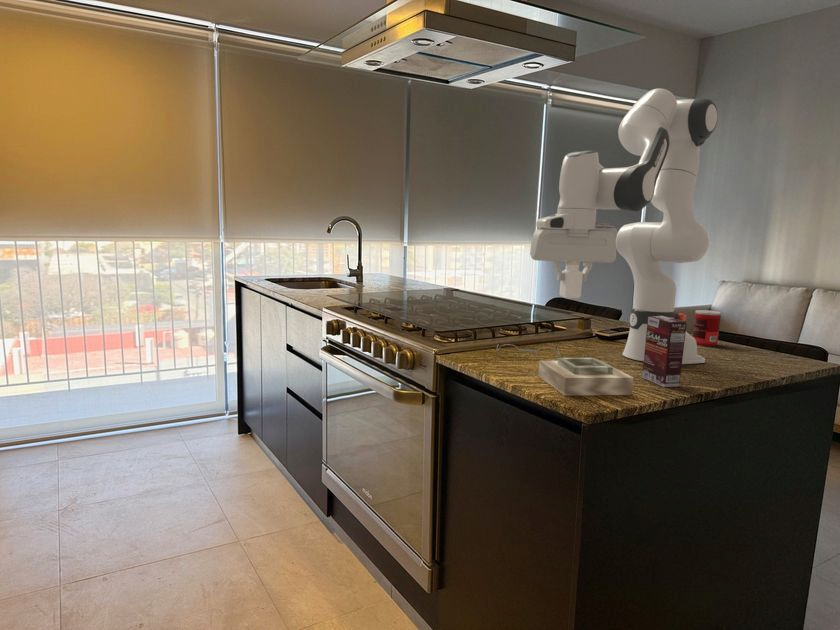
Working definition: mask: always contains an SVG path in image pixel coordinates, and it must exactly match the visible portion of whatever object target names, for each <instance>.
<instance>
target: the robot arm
mask: <svg viewBox="0 0 840 630" xmlns="http://www.w3.org/2000/svg"><path fill="white" fill-rule="evenodd" d="M717 123H718V109H717V105H716V103H714V101H713V100H712V99H710V98H703V97H697V98H695V99H693V98H690V99H689V98H688V99H687V98H686V99H683V98H682V99H676V96H675V95H674V93H673V92H671V91H670V90H668V89H666V88H660V87H659V88H654V89H651V90H649V91H647V92H646V93H645V94H643V95H642V96H641V97H640V98H639V99H638V100H637V101H636V102H635V103H634V104H632V106H631V108H630V109H628V111H627V113H626V114H625V115H624V117H623V119H622V120H621V121H620V124H619V126H618V129H617V130H618V131H617V133H618V134H617V135H618V140H619V142H620V144H621V145H622V147H623V148H624V149H625V150H626V151H627V152H629V153H630V154H632V155H635V156H640V158H639V161H638V163H637V164H634V165H631V166H626V167H610V168H609V167H608V168H607V167H604V166H603V165H602V164H601V163H600V158H599V153H598V152H597V151H595V150H580V151H573V152H569V153H567V154H566V155H565V156H564V158H563V160H562V163H561V164H562V165H561V168H560V174H559V184H558V191H559V202H558V205H557V211H556V213H555V214H551V215H549V216H545V217H541V218H538V219H537V220H536V223H535V224H536V225H535V226H536V228H537V229H536V230H535V231H534V233H533V234H532V237H531V244H530V254H529V255H530V257H531V259H532V260H534V261H542V262H543V261H545V262H552V267H553V269H554V270H555V273H556V277H555V278H556V281H558V282H559V281H565V273H562V271H563V270H562V269H561V267H562V265H563V264H562V263H563V262H566V261H577V262H580V263H582V266H583V267H584V268H583V270H582V271H581V272H582V273H583V276H582V282H587V279H588V277H587V276H588V275H589V272H590V271H591V269H592V268H593V264H594V263H610V264H611V263H613V262H615V260H616V258H617V252H618V254H619V255H620V256H622V258H623V259H624V260H625V261H626V262H627V264H628V266H629V268H630V270H631V274H632V277H633V284H634V287H633V305H632V307H631V309H630V317H629V333H628V337H627V340H626V344H625V347H624V349H623V352H622V356H623V357H625V358H628V359H630V360H631V359H632V360H635V361H640V362H644V353H645V342H646V332H647V322H648V316H665V317H669V318H673V319H677V320H680V321H685V322H686V320H687V318H688V316H687V315H686V314H685V313H683V312H682V313H681V312H679V313H678V312H676V311H675V307H676V306H675V304H676V295H677V285H676V282H675V281H674V280H673V278H671V277H670V276H668V275H666V274H665V273H664V271H663V270H662V267H661V263H662V262H663V263H677V264H684V263H685V264H686V263H693V262H698V261H700V260H701V259H702V258H703V257H704V256H705V255H706V253H707V251H708V249H709V246H710V245H709V244H710V239H709V235H708V232H707V231H706V230H705V228H704V227H703V226H701V225H700V223H699V222H698V221H697V219H696V217H695V215H694V212H693V198H694V192H695V187H696V182H697V178H698V174H699V173H698V172H699V167H700V153H701V152H700V151H701V147H702V145H703V144H704V143H705V142H706V140H707V139H709V137H710V136H712V134H713V132H714V131H715V129H716V127H717ZM700 146H701V147H700ZM649 203H651V205H652V206H653V207H654V208H655V209H657V210H658V211H660V212H662V214H663V219H662V221H661V222H658V221H656V222H654V221H653V222H652V221H638V222H632V223H631V222H630V223H628V224H624V225H622V227H620V228H619V230H618V229H617V227H616V226H615V225H613V223H611V222H607V223H606V222H605V223H603V222H596V220H597V210H621V211H627V212H628V211H629V212H639V211H641V210H643V209H644V208H645V207H646V206H648V205H649ZM705 363H706V358H705V357H703V356H702V355H699V354H698V345H697V343H696V340H695V339H694V338H693V335H691V334H690V333H689V332H687V331H686V333H685V342H684V350H683V359H682V365H690V364H691V365H693V364H705Z"/></svg>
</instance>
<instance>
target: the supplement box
mask: <svg viewBox="0 0 840 630" xmlns="http://www.w3.org/2000/svg"><path fill="white" fill-rule="evenodd" d="M686 332H687V321H686V320H685V321H682V320H677V319H673V318H669V317H665V316H648V322H647V332H646V342H645V353H644V361H643V365H642V373H641V375H642V376H641V378H642V379H643V380H646V381H649V382H651V383H653V384H656V385H658V386H661V388H675V387H681V386H680V384H681V376H682V375H681V374H682V366H683V364H682V359H683V350H684V342H685V333H686Z"/></svg>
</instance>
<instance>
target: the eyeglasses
mask: <svg viewBox="0 0 840 630" xmlns="http://www.w3.org/2000/svg"><path fill="white" fill-rule="evenodd" d="M504 346H510V344H509V343H508V344H507V343H506V344H502V345H500V346H499V345H497V347H496V349H495V352H497V353H498V356H500V355H501V354H500V349H501V347H504ZM511 346H512V347H515V348H516V349H517V351H518V352H517V355H516V356H515V358H516V357H518V356H519V354H520V352H528V353H536V357H537V358H538V359H539V360H541V358H540V357H539V355H538V352H539V350H540V349H544V348H547V349H553V350H554V351H556V358H555V359H554V361H557V360H558V358H559V357H561V354H560V350H559V347H558V344H555V348H557V349H555V348H553V347H551V346H550V347H547V346H543V347H542V346H541V347H540V348H538V349H537V350H533V349H519V348H518V347H517V345H514V344H511ZM498 347H499V348H498ZM558 356H559V357H558Z"/></svg>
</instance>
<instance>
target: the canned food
mask: <svg viewBox="0 0 840 630" xmlns="http://www.w3.org/2000/svg"><path fill="white" fill-rule="evenodd" d="M721 317H722V312H720V311H716V310H710V309H709V310H708V309H697V310H695V313H694V319H693V320H694V321H693V328H692V329H693V330H692V337H693V338H694V339H695V340H696V343H697V346H701V345H703V346H702V347H716V346H717V344H718V342H719V336H720V335H719V333H720V327H721V326H720V325H721Z"/></svg>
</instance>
